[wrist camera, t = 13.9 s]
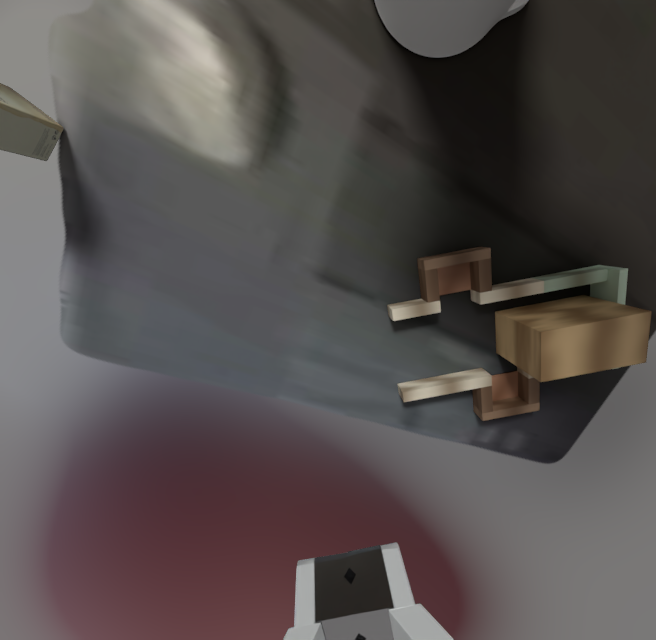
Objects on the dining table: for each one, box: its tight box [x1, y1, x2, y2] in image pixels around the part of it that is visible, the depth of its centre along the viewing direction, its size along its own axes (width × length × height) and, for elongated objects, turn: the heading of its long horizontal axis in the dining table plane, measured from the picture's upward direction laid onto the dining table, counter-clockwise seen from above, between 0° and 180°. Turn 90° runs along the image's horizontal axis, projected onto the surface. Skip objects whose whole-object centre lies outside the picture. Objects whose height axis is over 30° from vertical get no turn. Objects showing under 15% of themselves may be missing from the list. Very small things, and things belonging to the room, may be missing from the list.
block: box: [495, 295, 651, 382], centre depth 39 cm, size 12×6×9 cm, turn 100°
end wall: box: [590, 265, 628, 369], centre depth 42 cm, size 1×13×4 cm, turn 11°
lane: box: [387, 247, 608, 421], centre depth 42 cm, size 27×23×2 cm
